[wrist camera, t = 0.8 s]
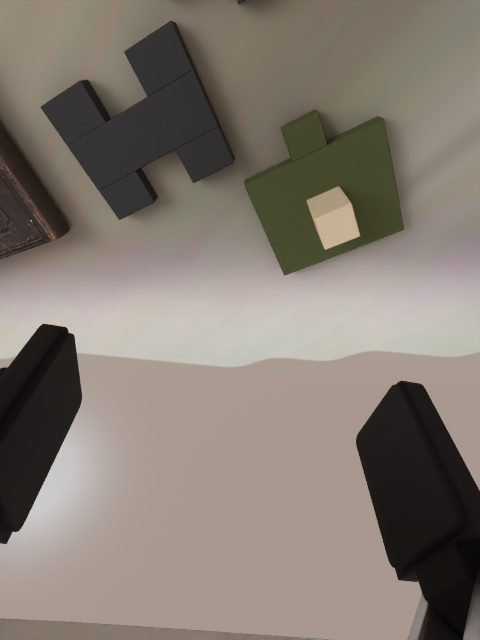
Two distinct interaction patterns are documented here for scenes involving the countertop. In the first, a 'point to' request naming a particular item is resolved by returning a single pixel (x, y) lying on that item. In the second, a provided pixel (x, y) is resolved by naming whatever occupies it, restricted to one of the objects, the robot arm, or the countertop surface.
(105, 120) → the base tile
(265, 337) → the countertop surface
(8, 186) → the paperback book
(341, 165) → the olive tile
